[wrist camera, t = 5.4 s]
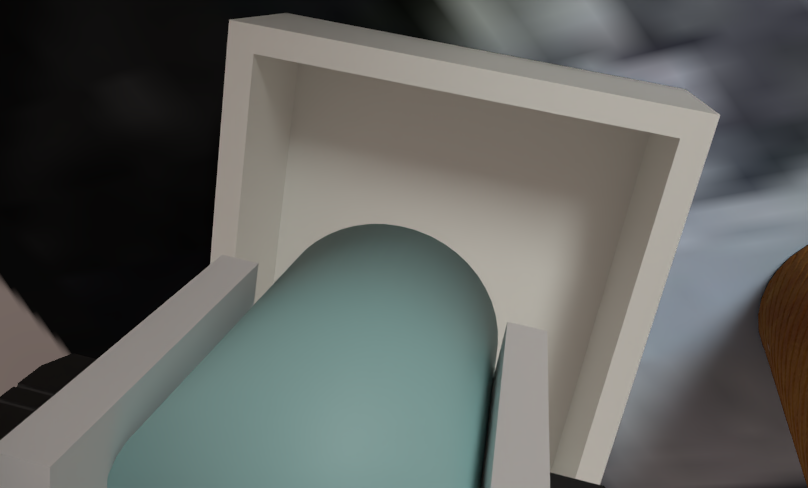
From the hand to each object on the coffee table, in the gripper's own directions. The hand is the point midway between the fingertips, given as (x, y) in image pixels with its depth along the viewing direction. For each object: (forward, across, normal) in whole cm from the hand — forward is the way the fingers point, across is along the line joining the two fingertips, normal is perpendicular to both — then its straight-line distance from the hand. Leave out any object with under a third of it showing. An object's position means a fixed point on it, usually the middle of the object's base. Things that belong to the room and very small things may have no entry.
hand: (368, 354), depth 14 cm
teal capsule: (+2, 0, 0) cm, 2 cm away
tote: (+13, 0, -4) cm, 14 cm away
